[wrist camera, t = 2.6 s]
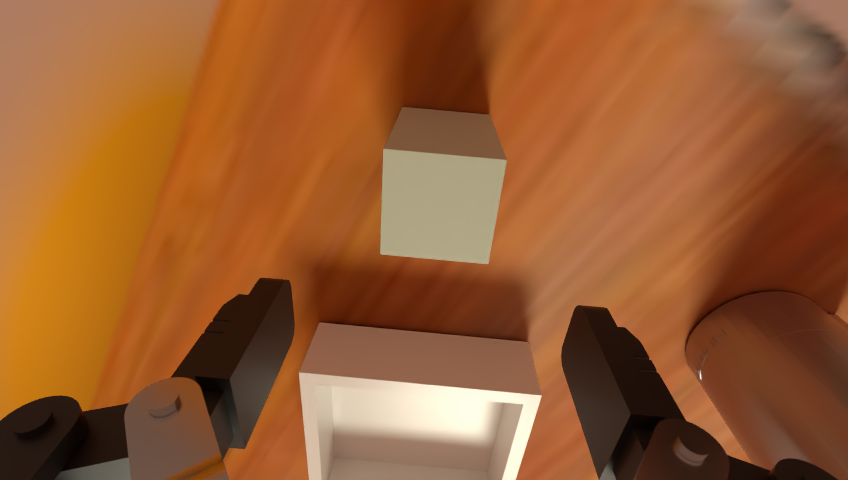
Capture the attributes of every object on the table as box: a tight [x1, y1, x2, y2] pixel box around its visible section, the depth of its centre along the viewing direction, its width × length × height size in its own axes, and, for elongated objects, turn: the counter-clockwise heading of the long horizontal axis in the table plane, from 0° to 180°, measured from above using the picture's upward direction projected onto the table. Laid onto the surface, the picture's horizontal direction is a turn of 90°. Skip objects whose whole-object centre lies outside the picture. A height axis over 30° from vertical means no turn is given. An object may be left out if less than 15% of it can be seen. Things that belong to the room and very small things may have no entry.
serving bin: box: [299, 322, 542, 480], centre depth 34 cm, size 16×16×5 cm
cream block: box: [380, 107, 507, 264], centre depth 22 cm, size 5×5×8 cm
